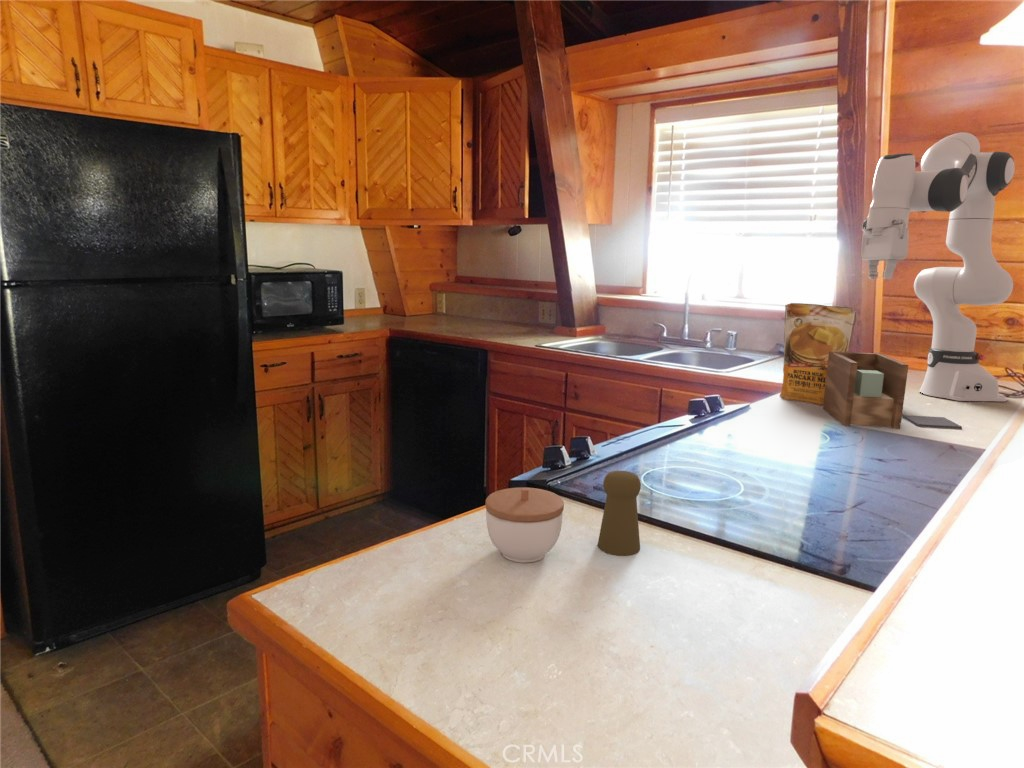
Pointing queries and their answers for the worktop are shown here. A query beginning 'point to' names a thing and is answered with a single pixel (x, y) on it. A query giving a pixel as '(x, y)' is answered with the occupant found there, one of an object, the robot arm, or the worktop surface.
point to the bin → (864, 409)
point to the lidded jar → (524, 522)
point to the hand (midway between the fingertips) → (879, 279)
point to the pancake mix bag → (812, 347)
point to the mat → (931, 422)
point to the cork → (620, 514)
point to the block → (868, 383)
